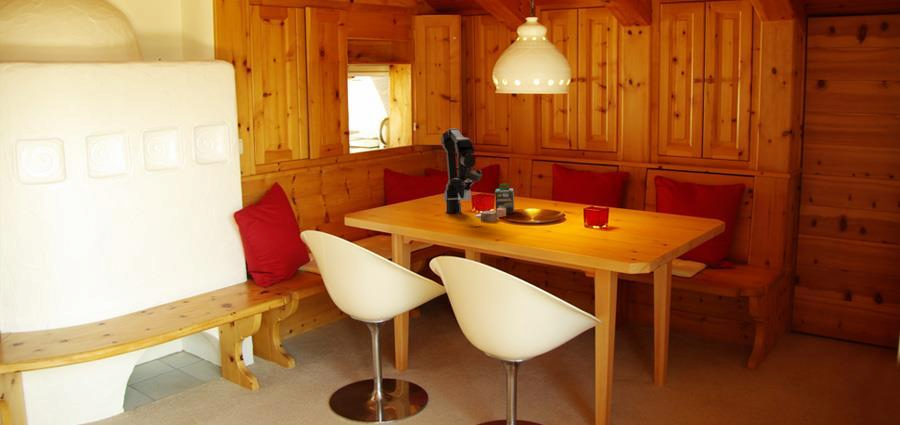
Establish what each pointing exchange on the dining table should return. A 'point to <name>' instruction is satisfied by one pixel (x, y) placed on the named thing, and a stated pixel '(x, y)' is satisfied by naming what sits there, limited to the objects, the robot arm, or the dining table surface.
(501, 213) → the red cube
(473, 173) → the robot arm
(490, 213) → the walnut block
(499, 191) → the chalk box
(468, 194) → the blue cube
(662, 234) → the dining table surface
